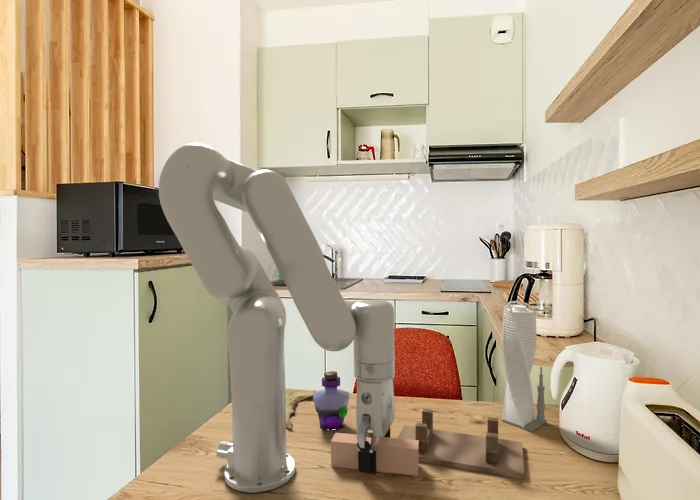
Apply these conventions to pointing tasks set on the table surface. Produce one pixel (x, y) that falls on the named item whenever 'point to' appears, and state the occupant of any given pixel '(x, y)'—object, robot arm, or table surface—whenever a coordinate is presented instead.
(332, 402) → the potion bottle
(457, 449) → the rack
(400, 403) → the table surface
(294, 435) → the table surface
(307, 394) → the animal bone
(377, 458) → the pink rectangular block
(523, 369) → the skyscraper
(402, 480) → the table surface
